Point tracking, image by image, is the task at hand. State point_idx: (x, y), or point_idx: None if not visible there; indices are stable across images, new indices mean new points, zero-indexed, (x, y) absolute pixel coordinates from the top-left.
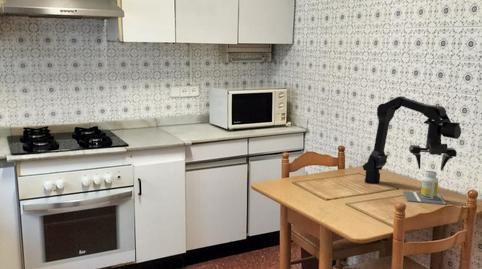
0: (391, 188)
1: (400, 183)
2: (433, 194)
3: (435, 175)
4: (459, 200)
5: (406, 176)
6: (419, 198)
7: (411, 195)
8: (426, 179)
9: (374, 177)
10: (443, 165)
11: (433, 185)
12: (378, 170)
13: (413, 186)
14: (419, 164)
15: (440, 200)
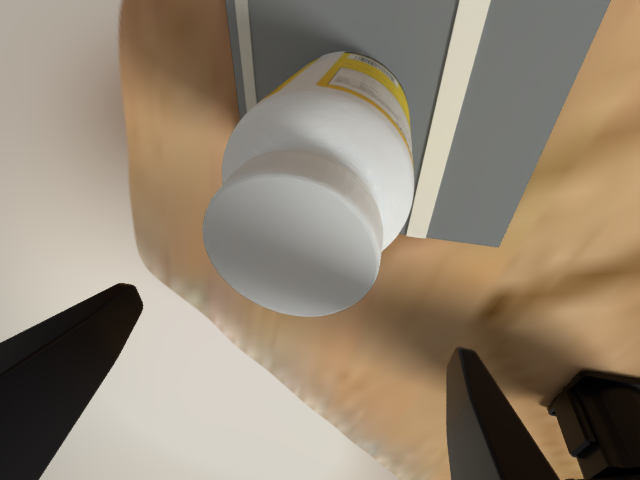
0: (537, 308)
1: (424, 376)
2: (314, 61)
3: (234, 171)
4: (137, 124)
5: (355, 436)
6: (441, 68)
7: (479, 150)
8: (384, 139)
9: (628, 417)
10: (23, 346)
11: (300, 80)
12: (604, 473)
13: (369, 341)
14: (507, 434)
15: (262, 50)
